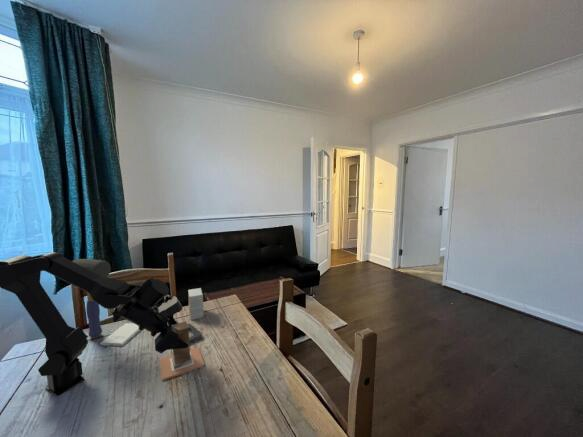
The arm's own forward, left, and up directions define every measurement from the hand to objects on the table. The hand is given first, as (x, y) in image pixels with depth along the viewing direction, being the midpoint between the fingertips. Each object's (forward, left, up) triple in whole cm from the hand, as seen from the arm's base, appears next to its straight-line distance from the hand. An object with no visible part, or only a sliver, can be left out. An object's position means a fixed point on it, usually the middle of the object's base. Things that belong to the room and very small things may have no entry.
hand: (185, 338), depth 80 cm
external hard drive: (+1, +33, -9) cm, 34 cm away
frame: (+9, +11, -8) cm, 16 cm away
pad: (-1, +1, -8) cm, 8 cm away
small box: (+24, +19, -8) cm, 32 cm away
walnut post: (-1, +1, -7) cm, 8 cm away
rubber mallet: (-4, +41, -8) cm, 42 cm away
